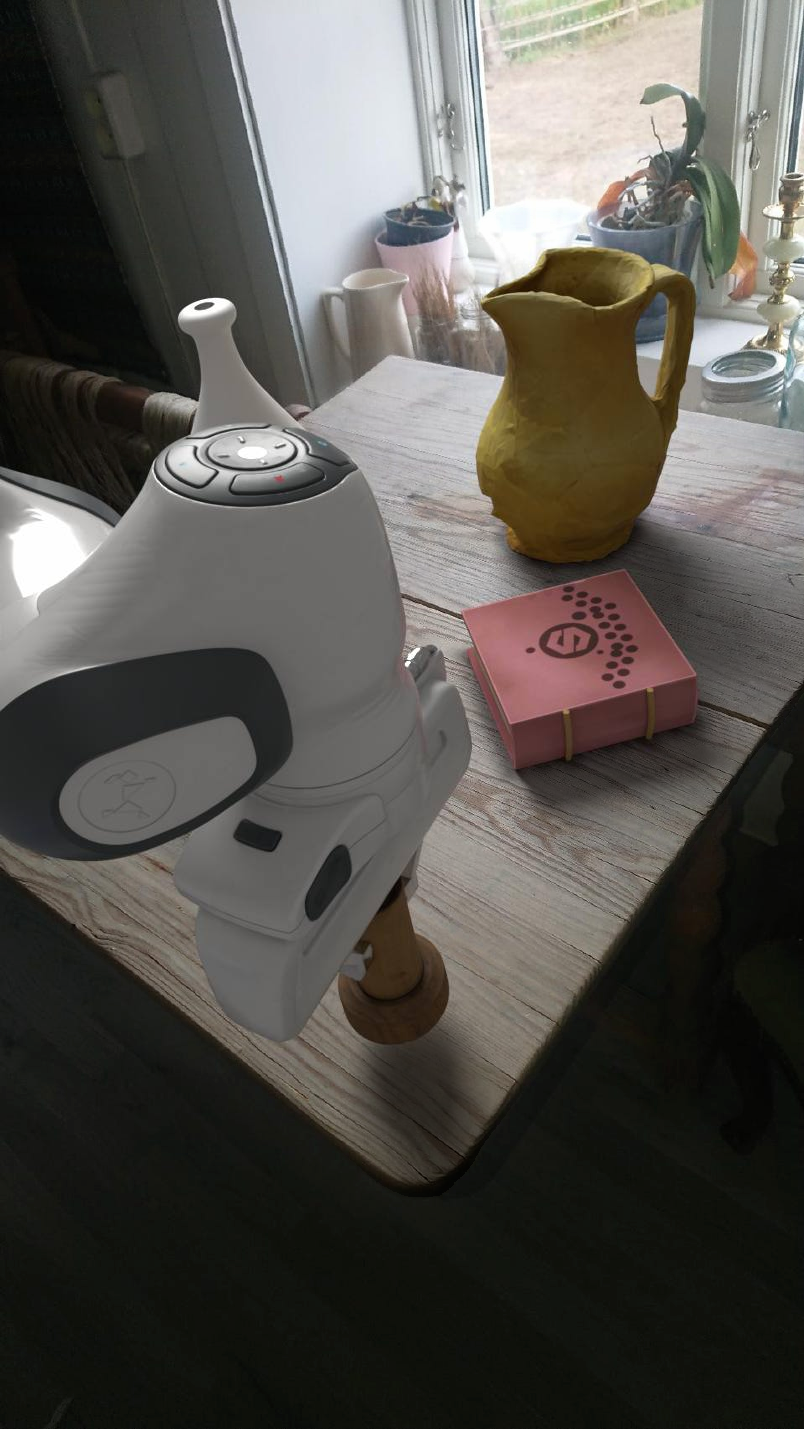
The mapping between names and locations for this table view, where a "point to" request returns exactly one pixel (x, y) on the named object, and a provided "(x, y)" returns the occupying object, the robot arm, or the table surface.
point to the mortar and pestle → (396, 979)
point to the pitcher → (581, 401)
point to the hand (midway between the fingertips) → (378, 929)
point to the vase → (226, 371)
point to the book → (578, 669)
